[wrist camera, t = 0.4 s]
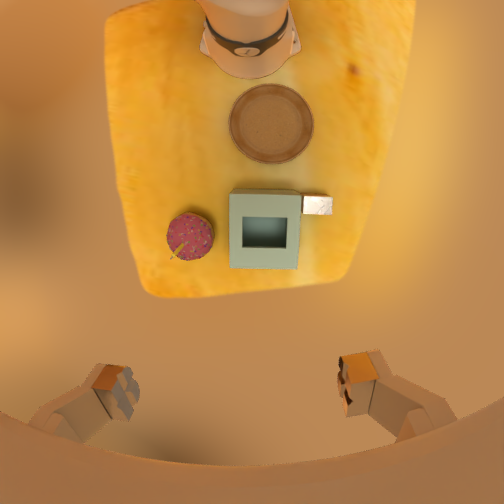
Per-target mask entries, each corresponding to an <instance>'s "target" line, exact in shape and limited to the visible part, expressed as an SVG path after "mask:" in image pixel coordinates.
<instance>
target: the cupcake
mask: <svg viewBox="0 0 504 504" xmlns="http://www.w3.org/2000/svg"><path fill="white" fill-rule="evenodd" d="M166 236H167V242H168V245H169V247H170V250H172V251H173V254H172V255H171V258H170V259H172V258H174V257H175V256H177V257H179V258H180V259H181V260H182V259H183V260H186V261H188V260H195V259H200V258H201V257H203V256H204V255H206V254H207V253H208V252H209V251H210V249H211V247H212V245H213V241H214V231H213V228H212V225H211V223H210V222H209V221H208V220H207V219H205V218H204V217H202V216H200V215H197V214H195V213H192V212H188V213H184V214H181V215H180V216H178V217H176V218H175V219H174V220H173V221H171V223H170V225H169V229H168V232H167V235H166Z"/></svg>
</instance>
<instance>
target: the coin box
mask: <svg viewBox="0 0 504 504" xmlns="http://www.w3.org/2000/svg"><path fill="white" fill-rule="evenodd" d="M301 197H302V196H301V195H300V194H299V193H298V192H297V191H295V190H280V189H233V191H232V192H231V193H230V194H229V245H230V268H249V269H297V267H298V253H299V237H300V218H301Z"/></svg>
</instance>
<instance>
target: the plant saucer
mask: <svg viewBox="0 0 504 504" xmlns="http://www.w3.org/2000/svg"><path fill="white" fill-rule="evenodd" d="M229 131H230V135H231V138H232V140H233V142H234V143H235V145H236V146H237V148H238V149H239V150H240V151H241V152H242V153H243V154H244V155H246V156H247V157H249V158H251V159H253V160H255V161H257V162H260V163H265V164H280V163H284V162H287V161H290V160H292V159H294V158H295V157H297V156H298V155H300V154H301V153H302V152H303V151H304V150H305V149H306V147H307V146H308V145H309V143H310V141H311V138H312V135H313V131H314V120H313V114H312V111H311V109H310V107H309V105H308V103H307V102H306V101H305V99H304V98H303V97H302V96H301V95H300V94H299V93H297V92H296V91H295V90H293V89H291V88H289V87H286V86H283V85H279V84H262V85H257V86H255V87H252V88H250V89H248V90H247V91H245V92H244V93H243V94H241V95H240V96H239V98H238V99H237V100H236V101H235V103H234V105H233V107H232V109H231V112H230V115H229Z"/></svg>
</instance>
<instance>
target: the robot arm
mask: <svg viewBox="0 0 504 504" xmlns="http://www.w3.org/2000/svg"><path fill="white" fill-rule="evenodd" d="M194 1H196V2H197V3H199V4H200V5H201V7H202V8H203V10H204V12H205V14H206V20H205V21H204V24H203V26H204V27H205V30H204V32H203V36H202V39H201V43H200V46H199V48H200V51H201V52H202V53H203V54H205V55H206V56H208V57H211V58H212V59H213V60H214V61H215V63H216V64H217V65H218V66H219V67H220V68H221V69H222V70H223V71H224V72H226V73H228V74H230V75H232V76H235V77H238V78H244V79H255V78H261V77H264V76H267V75H269V74H272V73H273V72H275V71H276V70H278V69H279V68H280V67H281V66H282V65H283V64H284V62H285V61H286V60H287V59H288V58H289V57H291V56H294V55H296V54H297V53H299V52H300V50H301V44H300V41H299V37H298V33H297V30H296V26H295V23H294V20H293V16H292V13H291V10H290V7H289V4H288V2H289V0H194ZM293 41H294V42H295V43H294V44H293ZM338 365H339V368H340V371H339V372H338V376H337V377H338V378H337V383H338V391H339V395H340V397H342V398H343V404H342V405H343V408H344V412H345V415H346V417H350V416H357V415H363V414H367V413H368V415H369V416H371V417H372V418H373V419H374V420H376V421H377V422H378V423H379V424H381V425H382V426H383V427H384V428H386V429H387V430H388V431H389V432H391V433H392V434H393V435H394V436H396V437H397V439H396V442H395V443H394V444H390V445H387V446H383V447H379V448H375V449H371V450H367V451H363V452H359V453H354V454H349V455H344V456H338V457H333V458H327V459H320V460H313V461H305V462H297V463H286V464H273V465H251V466H222V465H200V464H186V463H177V462H169V461H161V460H154V459H147V458H142V457H136V456H130V455H126V454H121V453H116V452H111V451H108V450H103V449H99V448H96V447H92V446H88V445H85V444H84V443H85V442H86V441H87V440H89V439H90V438H91V437H92V436H94V435H95V434H96V433H97V432H98V431H99V430H101V429H102V428H103V427H104V426H106V425H107V424H108V423H109V422H110V421H111V420H112V419H113V420H120V421H128V422H129V420H130V418H131V416H132V414H133V411H134V409H133V407H132V406H133V405H135V404H136V403H137V402H138V400H139V396H140V389H139V385H138V383H137V382H136V381H135V380H134V379H133V378H132V376H133V372H132V370H131V368H130V367H128V366H119V365H110V364H108V365H107V364H96V366H95V367H94V368H93V370H92V371H91V372H90V374H89V375H88V377H87V378H86V380H85V381H84V383H83V384H82V385H81V387H80V386H77V387H76V388H74V389H72V390H70V391H68V392H67V393H65V394H63V395H61V396H59V397H57V398H56V399H54V400H52V401H50V402H48V403H46V404H44V405H43V406H41V407H39V409H38V410H37V411H36V413H35V414H34V416H33V417H32V418H31V420H30V421H29V423H28V424H26V423H24V422H22V421H19V420H17V419H15V418H13V417H11V416H9V415H7V414H5V413H2V412H1V411H0V504H504V397H503V398H501V399H499V400H497V401H495V402H494V403H492V404H490V405H488V406H486V407H484V408H482V409H481V410H478V411H476V412H475V413H472V414H470V415H468V416H466V417H464V418H462V419H459V420H457V418H456V416H455V415H454V413H453V411H452V410H451V408H450V406H449V404H448V403H447V401H446V400H445V398H443V397H441V396H439V395H437V394H435V393H432V392H430V391H428V390H426V389H424V388H422V387H420V386H418V385H416V384H414V383H412V382H410V381H408V380H406V379H404V378H402V377H400V376H398V375H395V376H394V375H393V374H392V372H391V370H390V368H389V366H388V364H387V363H386V361H385V359H384V357H383V356H382V354H381V352H380V350H378V349H375V350H370V351H366V352H362V353H356V354H351V355H345V356H340V357H339V364H338Z"/></svg>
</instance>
